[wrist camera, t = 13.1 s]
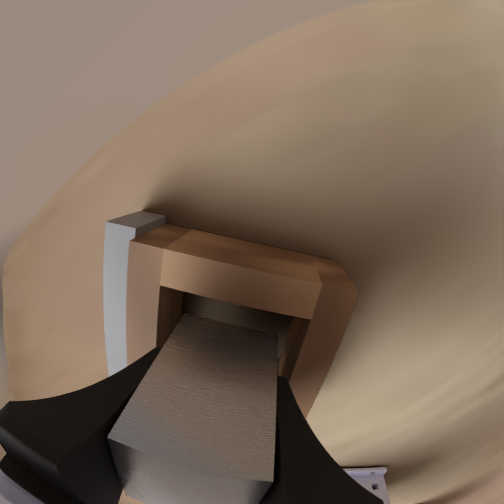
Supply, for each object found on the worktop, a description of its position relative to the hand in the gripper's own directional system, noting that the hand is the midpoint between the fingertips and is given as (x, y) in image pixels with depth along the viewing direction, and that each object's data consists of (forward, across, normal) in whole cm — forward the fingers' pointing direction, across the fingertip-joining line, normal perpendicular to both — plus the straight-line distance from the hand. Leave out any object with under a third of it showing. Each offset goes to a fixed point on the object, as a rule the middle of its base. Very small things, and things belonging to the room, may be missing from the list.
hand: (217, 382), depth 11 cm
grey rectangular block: (+2, 0, 0) cm, 2 cm away
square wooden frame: (+5, 0, 0) cm, 5 cm away
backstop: (+5, +5, 0) cm, 7 cm away
